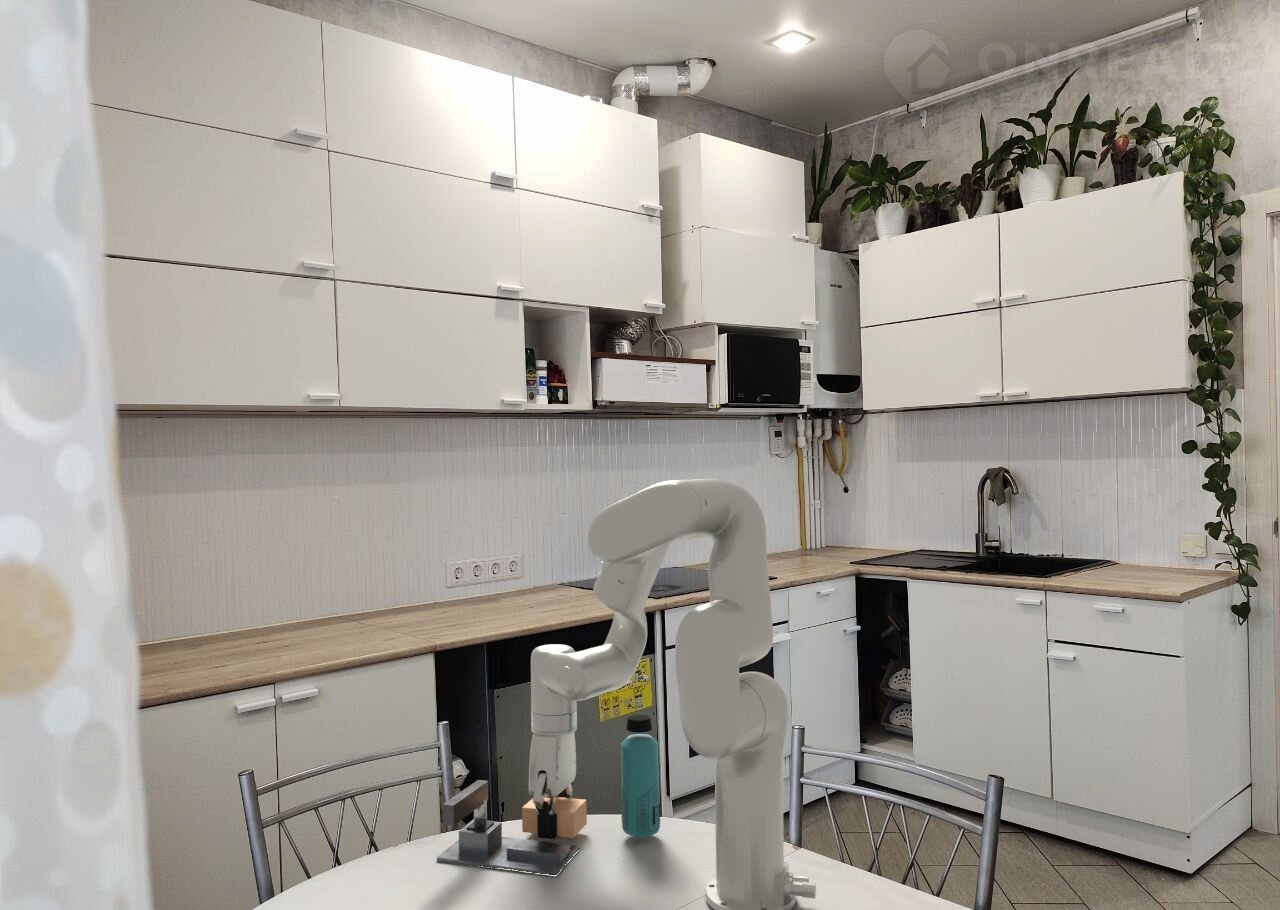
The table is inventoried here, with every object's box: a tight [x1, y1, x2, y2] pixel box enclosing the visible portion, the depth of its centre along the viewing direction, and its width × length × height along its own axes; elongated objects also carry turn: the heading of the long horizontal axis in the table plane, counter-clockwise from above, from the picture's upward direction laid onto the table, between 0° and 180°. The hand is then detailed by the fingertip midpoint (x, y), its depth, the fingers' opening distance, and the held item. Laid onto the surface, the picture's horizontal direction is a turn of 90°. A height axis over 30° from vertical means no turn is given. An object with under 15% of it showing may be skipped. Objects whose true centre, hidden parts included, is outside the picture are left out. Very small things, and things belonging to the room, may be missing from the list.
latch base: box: [436, 818, 581, 875], centre depth 143 cm, size 20×10×4 cm, turn 73°
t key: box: [442, 779, 489, 827], centre depth 140 cm, size 11×2×6 cm, turn 162°
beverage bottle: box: [620, 714, 662, 838], centre depth 149 cm, size 6×7×20 cm
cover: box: [521, 797, 588, 839], centre depth 151 cm, size 9×6×4 cm, turn 73°
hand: (555, 829), depth 151 cm, fingers closed on cover, 5 cm apart
